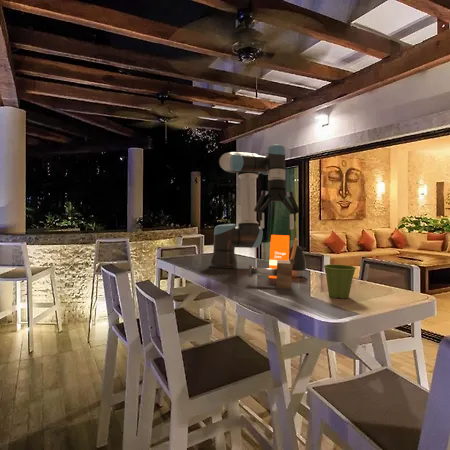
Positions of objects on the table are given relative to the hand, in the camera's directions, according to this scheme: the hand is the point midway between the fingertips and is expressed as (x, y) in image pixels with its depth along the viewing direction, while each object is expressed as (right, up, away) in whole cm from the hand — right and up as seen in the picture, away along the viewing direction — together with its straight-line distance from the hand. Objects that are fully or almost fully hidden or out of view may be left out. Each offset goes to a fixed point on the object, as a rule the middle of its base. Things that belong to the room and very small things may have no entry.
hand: (277, 228), depth 155 cm
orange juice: (+3, -23, +16) cm, 28 cm away
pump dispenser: (+12, -24, +20) cm, 33 cm away
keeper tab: (+5, -9, -6) cm, 12 cm away
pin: (-4, -21, -4) cm, 22 cm away
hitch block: (+2, -24, -5) cm, 24 cm away
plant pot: (+20, -25, -21) cm, 38 cm away
